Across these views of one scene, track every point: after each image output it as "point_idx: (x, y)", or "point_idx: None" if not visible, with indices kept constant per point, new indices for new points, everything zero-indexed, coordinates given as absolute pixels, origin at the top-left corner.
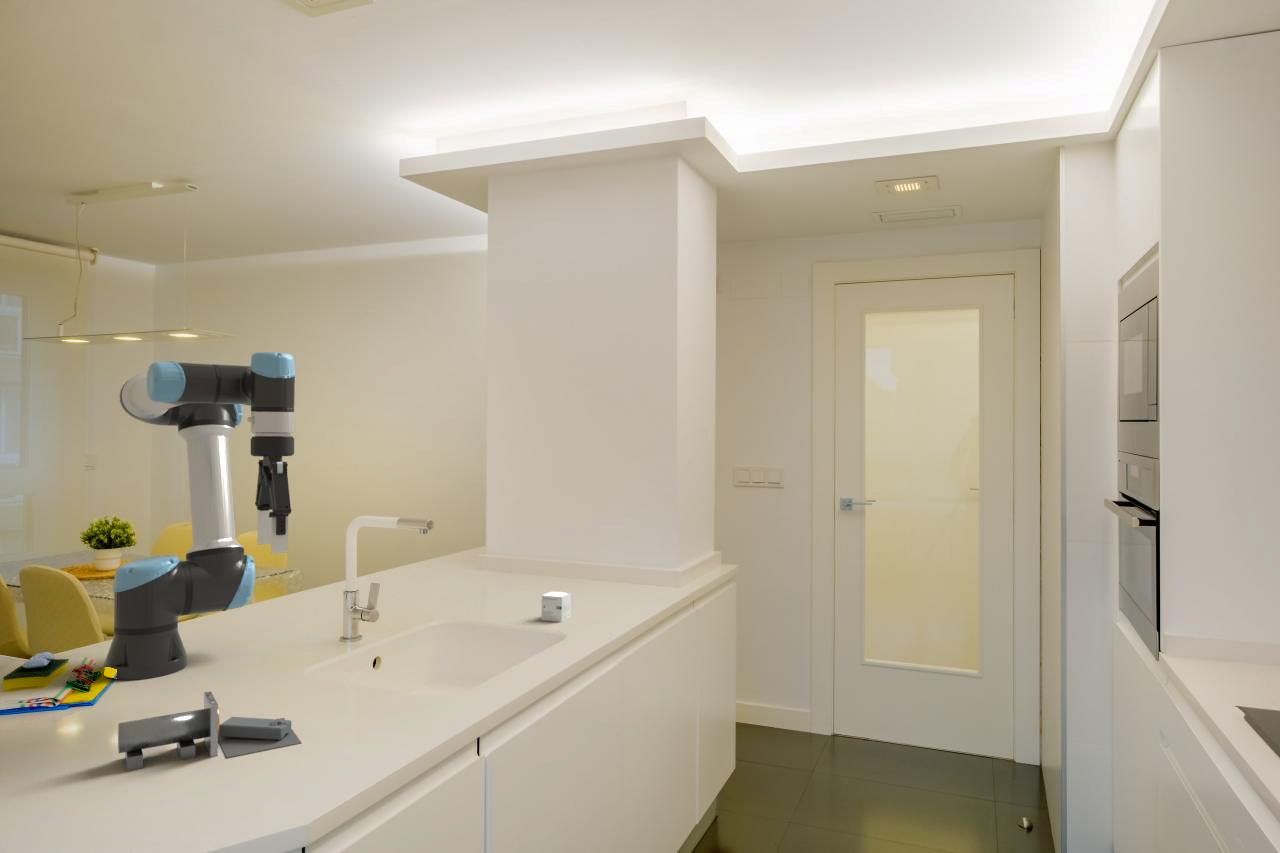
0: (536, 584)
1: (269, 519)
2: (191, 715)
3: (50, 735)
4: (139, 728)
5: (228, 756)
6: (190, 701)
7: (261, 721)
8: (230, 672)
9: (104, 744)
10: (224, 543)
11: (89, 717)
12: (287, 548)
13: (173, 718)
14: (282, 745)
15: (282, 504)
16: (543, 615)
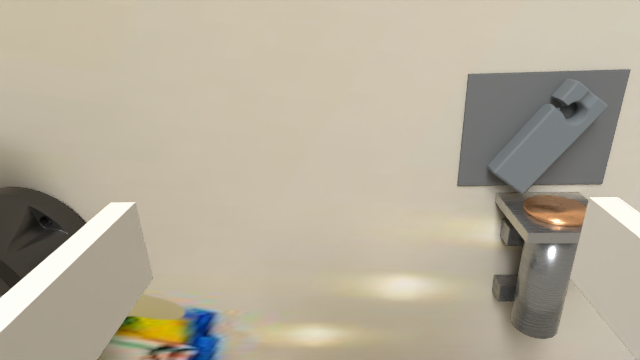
0: None
1: (27, 341)
2: (572, 254)
3: (333, 353)
4: (561, 312)
5: (599, 180)
6: (265, 199)
7: (551, 131)
8: (94, 119)
9: (414, 306)
10: None
11: (275, 317)
12: (635, 212)
13: (565, 276)
14: (618, 101)
15: None
16: None
